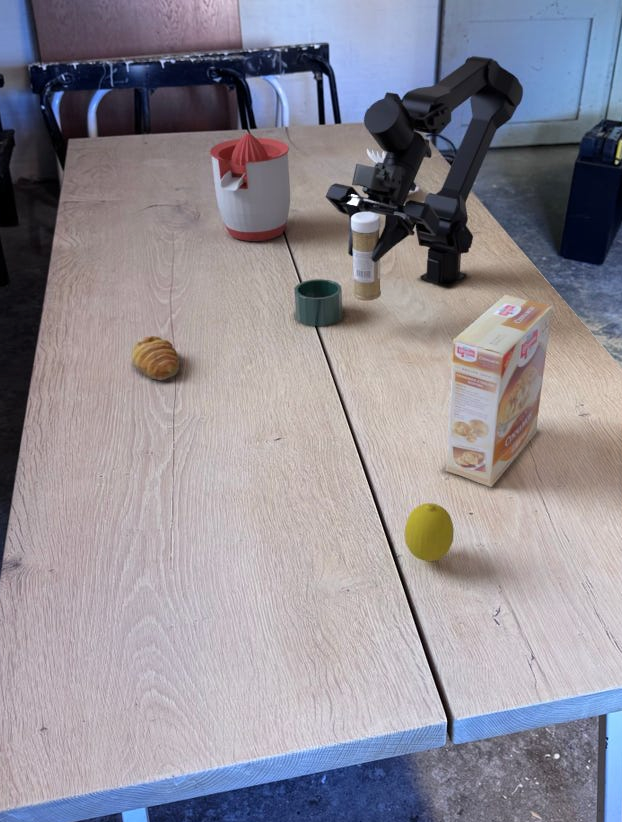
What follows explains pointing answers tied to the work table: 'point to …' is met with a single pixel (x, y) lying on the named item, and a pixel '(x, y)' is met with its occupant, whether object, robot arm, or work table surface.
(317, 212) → the work table surface
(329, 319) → the cup
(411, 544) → the lemon
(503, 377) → the coffeecake box
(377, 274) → the sprinkles bottle
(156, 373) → the pastry
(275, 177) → the citrus juicer
